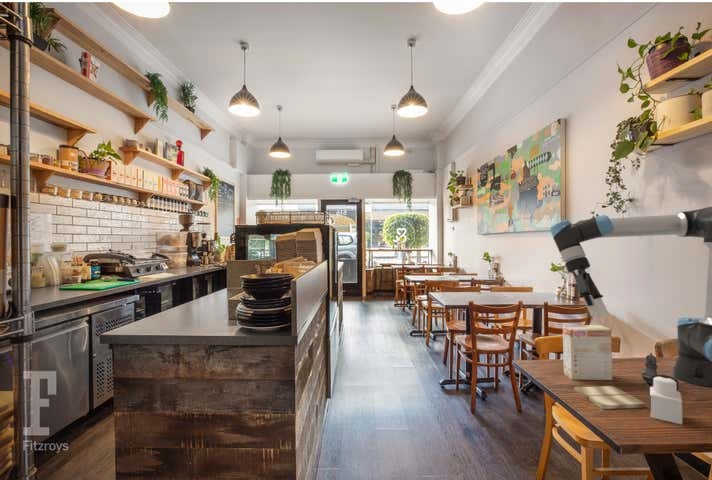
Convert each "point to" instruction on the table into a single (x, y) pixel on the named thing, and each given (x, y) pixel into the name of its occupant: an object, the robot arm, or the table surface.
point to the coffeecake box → (587, 352)
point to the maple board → (609, 397)
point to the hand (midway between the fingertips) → (600, 315)
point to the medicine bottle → (665, 399)
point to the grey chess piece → (649, 370)
